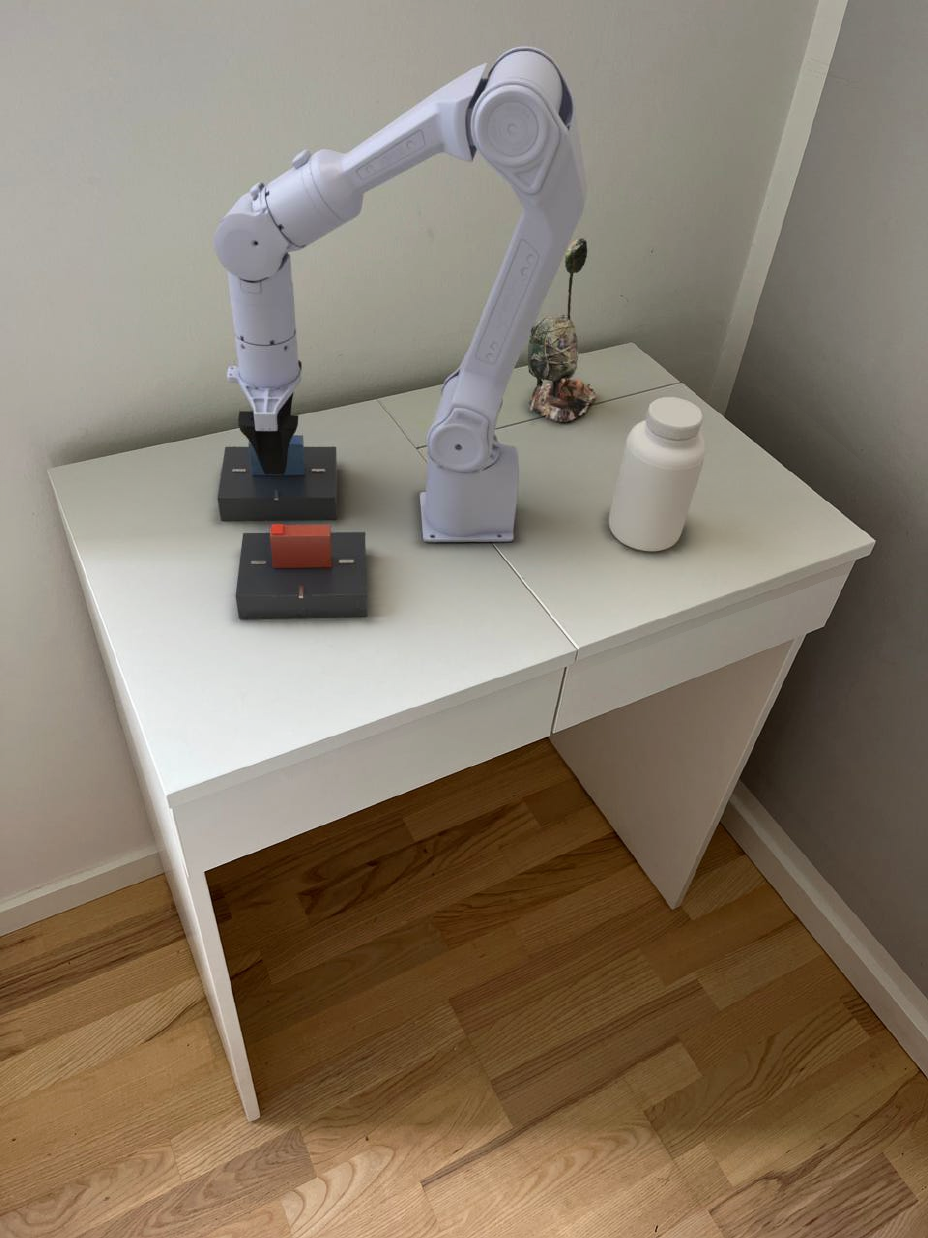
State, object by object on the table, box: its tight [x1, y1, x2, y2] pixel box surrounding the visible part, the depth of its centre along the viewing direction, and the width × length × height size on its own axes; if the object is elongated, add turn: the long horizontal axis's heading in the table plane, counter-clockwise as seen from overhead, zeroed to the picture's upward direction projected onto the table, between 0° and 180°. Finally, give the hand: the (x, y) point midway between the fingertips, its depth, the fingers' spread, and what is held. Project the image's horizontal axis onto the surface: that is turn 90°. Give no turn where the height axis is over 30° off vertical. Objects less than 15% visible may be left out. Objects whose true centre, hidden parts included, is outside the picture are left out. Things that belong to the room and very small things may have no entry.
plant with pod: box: [527, 237, 597, 423], centre depth 111 cm, size 8×11×20 cm
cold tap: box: [247, 434, 305, 475], centre depth 99 cm, size 6×2×4 cm, turn 95°
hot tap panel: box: [235, 531, 368, 620], centre depth 92 cm, size 12×10×3 cm
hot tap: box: [269, 523, 332, 568], centre depth 89 cm, size 6×2×4 cm, turn 95°
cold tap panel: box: [217, 446, 338, 521], centre depth 102 cm, size 12×10×3 cm
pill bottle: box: [608, 396, 707, 552], centre depth 97 cm, size 8×8×15 cm
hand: (276, 449), depth 99 cm, fingers open, 7 cm apart
